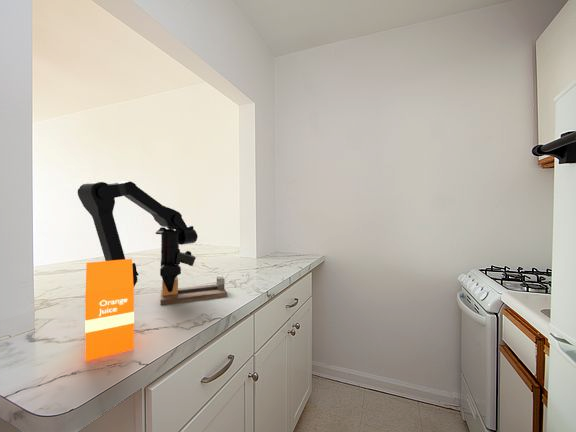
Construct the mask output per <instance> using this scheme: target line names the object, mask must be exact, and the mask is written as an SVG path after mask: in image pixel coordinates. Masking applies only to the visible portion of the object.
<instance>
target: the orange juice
mask: <svg viewBox="0 0 576 432" xmlns="http://www.w3.org/2000/svg"><path fill="white" fill-rule="evenodd" d="M132 263H133V258H127V259H126V258H125V259H124V260H112V261H105V260H102V261H101V260H100V261H89V262H86V267H85V268H86V270H85V271H86V273H85V291H84V292H85V293H84V294H85V295H84V296H85V298H84V299H85V301H84V302H85V306H84V308H85V309H84V310H85V313H84V314H85V318H84V319H85V320H84V326H85V327H84V333H85V362H89V361H92V360H96V359H100V358H104V357H108V356H112V355H116V354H120V353H124V352H127V351H132V350H135V304H134V303H135V292H134V291H135V286H134V285H133V267H132Z"/></svg>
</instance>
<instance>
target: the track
mask: <svg viewBox="0 0 576 432" xmlns="http://www.w3.org/2000/svg"><path fill="white" fill-rule="evenodd" d="M225 281H226V280H225V277H224V276H216V284H215V283H214V284H207V285H199V286H198V285H195V286H189V287H180V288H179V287H178V294H175V295H166V296H162V289H161V290H160V305H161V306H163V305H169V304H177V303H178V304H180V303H187V302H194V301H201V300H202V301H203V300H208V299H209V300H210V299H216V298H224V297H225V298H226V297H228V292H227V291H226V289H225Z"/></svg>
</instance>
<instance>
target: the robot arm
mask: <svg viewBox="0 0 576 432" xmlns="http://www.w3.org/2000/svg"><path fill="white" fill-rule="evenodd" d="M77 197H78V198H79V201H80V202H81V204H82V206H83V207H84V209H85V210H86V212H87V213H89V215H90V216H91V218H92V219H93V220H92V221H93V223H94V227H95V230H96V234H97V237H98V239H99V241H98V242H99V243H100V247H101V250H102V253H103V257H104V261H112V260H124V259H126V256H125V253H124V252H125V251H124V249H123V246H122V241H121V238H120V235H119V232H118V228H117V224H116V221H115V218H114V213H113V212H114V207H115V204H116V201H115V199H116V198H120V197H125V198H126V199H128V200H129V201H131V202H132V203H134V204H135V205H136V206H138V207H139V208H141V209H143V210H144V211H145V212H147V213H148V214H150V215H151V216H152V218H153V220H154V221H155V222H157V224H158V225H159V226H160V227H159V229H158V230H156V231H155V234H156V235H160V236H161V237H160V238H161V241H160V242H161V245H160V246H161V248H160V249H161V251H160V253H161V255H160V256H161V257H160V259H161V260H160V269H159V275H160V277H161V278H162V279H163V281H164V283H165V285H166V288H167V290H168V292H172V289H173V285H174V280H175V277H178V276H179V275H181V274H182V268H181V266H180V265H181V264H185V265H189V266H190V267H194V264H195V260H196V258H197V257H196V256H194V255H192V252H191V251H189V250H186V251H185V252H181V250H180V246H183V245H189V244H194V243H196V242H197V240H198V232H197V231H196V230H195V229H194V226H193V225H187V224H186V222H185V220H184V219H183V218H182V217H183V215H182V213H180V211H177V210H176V209H173V208H171V207H168V206H165V205H163V204H161V203H160V202H158V201H157V200H156V199H154V197H152V196H151V195H149V194H148V193H147V192H145V191H144V190H143V189H141V188H140V187H139V186H137V184H136V183H134V182H133V181H129V180H126V181H120V182H115V183H107V182H104V181H101V182H100V181H97V182H86V183H82V185H80V186H79V188H78V189H77ZM132 267H133V285H134V287H135V286H136V284H137V283H138V279H139V278H138V276H139V275H140V274H139V273H138V271H137V265H136V263H135V262H132Z"/></svg>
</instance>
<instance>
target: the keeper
mask: <svg viewBox="0 0 576 432" xmlns="http://www.w3.org/2000/svg"><path fill="white" fill-rule="evenodd" d="M161 283H162V284H161V290H162V296H166V295H175V294H178V288H179V278H178V276H176V277H175V280H174V285H173V289H172V292H168V290H167V288H166V285H165V283H164V281H163V279H162V280H161Z"/></svg>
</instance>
